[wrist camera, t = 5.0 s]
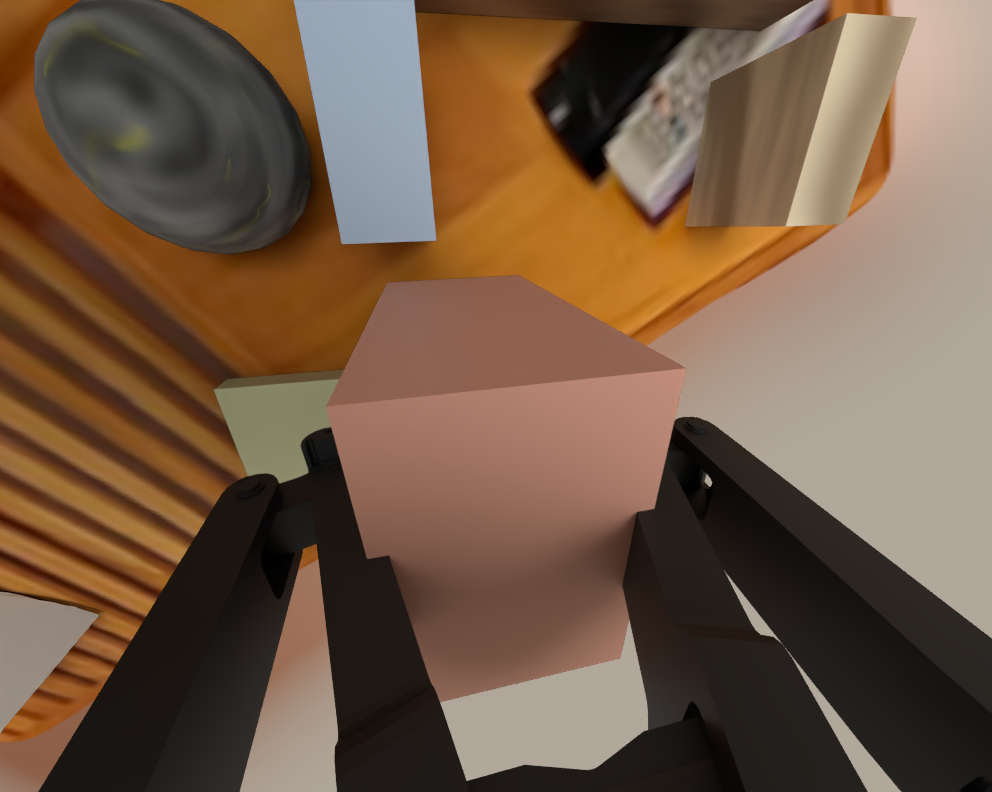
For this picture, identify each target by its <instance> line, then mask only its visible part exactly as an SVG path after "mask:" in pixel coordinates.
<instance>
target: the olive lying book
mask: <svg viewBox="0 0 992 792" xmlns="http://www.w3.org/2000/svg"><path fill="white" fill-rule="evenodd" d="M343 371H344V370H332V371H320V372H307V373H295V374H283V375H270V376H258V377H246V378H234V379H227V380H225V381H224V382H223V383H222V384H220V385H219V386H218V387H216V388H215V389H214V392H215V395H216V397H217V400H218V402H219V405H220V407H221V410H222V412H223V415H224V417H225V420H226V422H227V425H228V427H229V430H230V432H231V435H232V437H233V440H234V442H235V445H236V447H237V450H238V452H239V455H240V457H241V460H242V462H243V465H244V467H245V470H246V473H247V475H248V476H251V475H255V474H264V473H268V474H272V475H274V476H275V477H276V478H277V479H278V482H279V483H282V482H286V481H289V480H292V479H295V478H298V477H300V476H303V475H305V474H307V473H308V468H307V465H306V461H305V458H304V455H303V452H302V449H301V446H300V445H301V442H302V440H303V439H304V438H305V437H306V436H307V435H309V434H311V433H313V432H315V431H317V430H320V429H323V428H329V427H331V424H330V421H329V417H328V413H327V409H326V405H327V403H328V401H329V399H330V397H331V395H332V393H333V391H334V389H335V387H336V385H337V383H338V381H339V379H340V377H341V375H342V373H343Z"/></svg>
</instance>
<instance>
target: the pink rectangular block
mask: <svg viewBox="0 0 992 792" xmlns="http://www.w3.org/2000/svg"><path fill="white" fill-rule="evenodd" d="M685 372H686V368H685V367H683V366H681V365H680V364H678V363H676V362H674V361H672V360H671V359H669V358H667V357H665V356H663V355H661V354H660V353H658V352H656V351H654V350H653V349H650V348H649V347H647V346H645V345H644V344H642V343H640V342H638V341H636V340H635V339H633V338H631V337H629V336H627V335H626V334H624V333H622V332H620V331H618V330H616V329H615V328H613V327H611V326H609V325H607V324H606V323H604V322H602V321H600V320H598V319H597V318H595V317H593V316H591V315H589V314H588V313H586V312H584V311H582V310H580V309H579V308H577V307H575V306H573V305H571V304H570V303H568V302H566V301H564V300H562V299H561V298H559V297H557V296H555V295H553V294H552V293H550V292H548V291H546V290H544V289H543V288H541V287H539V286H537V285H535V284H534V283H532V282H530V281H528V280H526V279H525V278H523V277H521V276H519V275H511V276H493V277H475V278H458V279H440V280H422V281H404V282H387V284H386V286H385V288H384V290H383V292H382V294H381V296H380V298H379V300H378V302H377V304H376V306H375V308H374V310H373V312H372V314H371V316H370V318H369V320H368V323H367V325H366V327H365V329H364V331H363V333H362V335H361V337H360V339H359V341H358V343H357V345H356V347H355V349H354V351H353V353H352V355H351V357H350V359H349V361H348V363H347V365H346V367H345V369H344V371H343V373H342V375H341V377H340V379H339V381H338V383H337V385H336V387H335V389H334V391H333V393H332V395H331V397H330V399H329V401H328V403H327V405H326V409H327V413H328V417H329V421H330V424H331V428H332V432H333V435H334V439H335V443H336V446H337V450H338V454H339V457H340V461H341V465H342V469H343V472H344V476H345V480H346V483H347V487H348V491H349V494H350V498H351V502H352V505H353V509H354V513H355V517H356V520H357V524H358V528H359V531H360V535H361V539H362V542H363V546H364V550H365V554H366V557H367V559H371V558H376V557H382V556H388V555H389V557H390V560H391V563H392V566H393V569H394V572H395V575H396V578H397V581H398V585H399V588H400V591H401V594H402V597H403V600H404V603H405V606H406V609H407V612H408V615H409V618H410V621H411V624H412V627H413V630H414V633H415V636H416V639H417V642H418V645H419V648H420V651H421V654H422V657H423V661H424V664H425V667H426V670H427V673H428V676H429V678H430V681H431V684H432V685H433V686H434V688H435V690H436V693H437V695H438V698H439V701H440V702H443V701H446V700H451V699H455V698H459V697H463V696H467V695H471V694H476V693H479V692H484V691H488V690H492V689H496V688H500V687H504V686H508V685H512V684H517V683H521V682H525V681H529V680H533V679H537V678H541V677H545V676H550V675H553V674H558V673H562V672H566V671H570V670H574V669H578V668H583V667H587V666H591V665H595V664H599V663H603V662H607V661H611V660H615V659H620V657H621V653H622V649H623V644H624V640H625V635H626V631H627V626H628V622H629V615H628V610H627V605H626V601H625V596H624V592H623V587H622V584H623V579H624V574H625V569H626V564H627V559H628V554H629V549H630V544H631V539H632V534H633V529H634V524H635V519H636V514H637V512H639V511H645V510H651V509H654V508H655V504H656V499H657V495H658V491H659V486H660V482H661V477H662V473H663V469H664V464H665V460H666V455H667V451H668V447H669V442H670V438H671V433H672V429H673V425H674V420H675V416H676V411H677V407H678V403H679V398H680V394H681V390H682V385H683V381H684V376H685Z"/></svg>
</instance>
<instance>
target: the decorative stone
mask: <svg viewBox="0 0 992 792" xmlns="http://www.w3.org/2000/svg"><path fill="white" fill-rule="evenodd" d="M34 92H35V95H36V98H37V101H38V105H39V108H40V111H41V114H42V117H43V120H44V124H45V127H46V130H47V132H48V133H49V135H50V137H51V138H52V140H53V142H54V143H55V145H56V146H57V148H58V150H59V151H60V153H61V155H62V156H63V158H64V159H65V161H66V163H67V164H68V166H69V167H70V169H71V170H72V171H73V172H74V173H75V174H76V175H77V176H78V177H79V178H80V180H81V181H82V182H83V183H84V184H85V185H86V186H87V187H88V188H89V189H90V190H91V191H92V192H93V193H94V194H95V195H96V196H97V197H98V198H99V199H100V200H101V201H102V202H103V203H104V204H105V205H106V206H107V207H109V208H110V209H112V210H113V211H115V212H116V213H118V214H119V215H121V216H122V217H124V218H125V219H127V220H128V221H130V222H131V223H133V224H134V225H136V226H137V227H138V228H140V229H142V230H143V231H145V232H146V233H148V234H150V235H153V236H156V237H158V238H161V239H163V240H166V241H168V242H171V243H173V244H176V245H179V246H181V247H184V248H187V249H190V250H194V251H203V252H212V253H221V254H238V253H243V252H248V251H252V250H257V249H262V248H265V247H267V246H269V245H271V244H272V243H274V242H275V241H277V240H278V239H280V238H282V237H283V236H285V235H286V234H288V233H289V232H290V231H291V230H292V228H293V227H294V225H295V224H296V222H297V221H298V220H299V218H300V217H301V215H302V214H303V212H304V211H305V209H306V205H307V201H308V197H309V193H310V189H311V185H312V173H311V158H310V149H309V146H308V143H307V140H306V137H305V134H304V131H303V129H302V126H301V123H300V120H299V117H298V114H297V112H296V111H295V109H294V108H293V106H292V105H291V103H290V101H289V100H288V98H287V97H286V95H285V94H284V92H283V91H282V89H281V87H280V86H279V84H278V83H277V81H276V80H275V78H274V77H273V76H272V74H271V73H270V72H269V71H268V70H267V69H266V68H265V67H264V66H263V65H262V64H261V63H260V62H259V61H258V60H257V59H256V58H255V57H254V56H253V55H252V54H251V53H250V52H249V51H248V50H247V49H246V48H245V47H244V46H243V45H242V44H240V43H239V42H238V41H237V40H236V39H235V38H234V37H233V36H231V35H230V34H229V33H227V32H226V31H224V30H222V29H221V28H219V27H217V26H215V25H214V24H212V23H210V22H208V21H207V20H205V19H203V18H201V17H200V16H198V15H196V14H194V13H193V12H191V11H189V10H188V9H186V8H183V7H181V6H178V5H176V4H173V3H168V2H164V1H160V0H80V1H79V2H77V3H76V4H74V5H73V6H72V7H70V8H69V9H67V10H66V11H65V12H63V13H62V14H60V15H59V16H58V17H56V18H55V19H54V20H52V21H51V22H50V23H49V24H48V26H47V28H46V31H45V33H44V35H43V37H42V39H41V41H40V43H39V46H38V48H37V50H36V52H35V75H34Z"/></svg>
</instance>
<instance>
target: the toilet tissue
mask: <svg viewBox="0 0 992 792" xmlns="http://www.w3.org/2000/svg"><path fill="white" fill-rule="evenodd" d="M98 616H99V615H98V614H95V613H93V612H89V611H85V610H82V609H79V608H77V607H75V606H66V605H61V604H58V603H54V602H48V601H41V600H36V599H33V598H30V597H26V596H23V595H18V594H12V593H7V592H0V733H1V732H2V730H3V729H4V727H5V726H6V725H7V724H8V722H9V721H10V720H11V719H12V718H13V716H14V715H15V714H16V713H17V712H18V711H19V709H20V708H21V707H22V706H23V705H24V703H25V702H26V701H27V700H28V699H29V698H30V696H31V695H32V694H33V693H34V692H35V690H36V689H37V688H38V687H39V686H40V685H41V684H42V683H43V682H44V680H45V679H46V678H47V677H48V676H49V675H50V673H51V672H52V670H53V669H54V668H55V667H56V666H57V665H58V664H59V663H60V662H61V660H62V659H63V657H64V656H65V655H66V654H67V653H68V652H69V650H70V649H71V648H72V647H73V646H74V645H75V644H76V643H77V641H78V640H79V638H80V637H81V636H82V635H83V633H84V632H85V631H86V630H87V629H88V628H89V627H90V625H91V624H92V623H93V622H94V621H95V620H96V619H97V618H98Z"/></svg>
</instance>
